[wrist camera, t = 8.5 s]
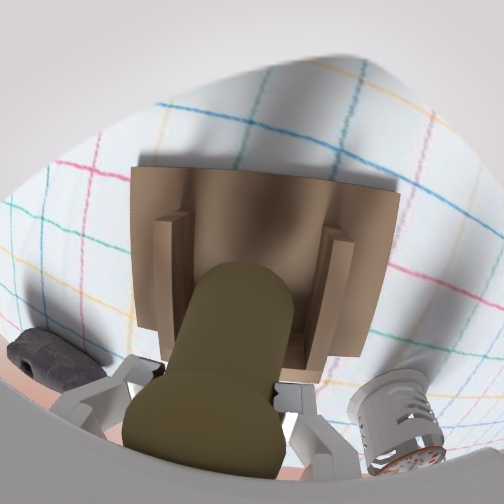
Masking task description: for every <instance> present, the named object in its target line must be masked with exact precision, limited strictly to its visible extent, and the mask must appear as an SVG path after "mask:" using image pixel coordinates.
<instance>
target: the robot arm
mask: <svg viewBox="0 0 504 504" xmlns="http://www.w3.org/2000/svg"><path fill="white" fill-rule="evenodd" d="M165 371H166V370H165V364H163V363H161V362H157V361H154V360H150V359H147V358H143V357H139V356H135V355H132V354H130V355H128V356H127V357H126V358H125V360H124V361H123V362H122V364H121V365H120V366H119V368H118V369H117V370H116V371H115V373H114V374H113V375H112V377H110V376H107V377H104V378H102V379H99V380H97V381H94V382H91V383H89V384H86V385H83V386H80V387H78V388H75V389H72V390H69V391H66V392H64V393H63V394H62V395H61V396H60V397H59V398H58V400H57V401H56V402H55V403H54V405H53V406H52V407H51V408H50V409H49V410H47V409H45V408H44V407H42V406H41V405H39V404H37V403H36V402H34V401H33V400H31V399H29V398H28V397H27V396H25V395H24V394H22V393H21V392H19V391H18V390H16V389H15V388H13V387H12V386H11V385H10V384H8V383H7V382H5V381H4V380H3V379H1V378H0V504H504V454H503V453H502V452H500V451H498V450H497V449H494V448H492V447H485V448H482V449H479V450H476V451H474V452H471V453H468V454H466V455H463V456H460V457H457V458H454V459H451V460H447V461H444V462H441V463H437V464H434V465H430V466H426V467H422V468H418V469H413V470H409V471H404V472H398V473H393V474H387V475H381V476H373V477H365V478H362V475H361V469H360V463H359V457H358V452H357V451H356V450H355V449H354V448H353V447H352V446H351V445H350V444H349V443H348V442H347V441H346V440H345V439H344V438H343V437H342V436H341V435H340V434H339V433H338V432H337V431H336V430H335V429H334V428H333V427H332V426H331V425H330V424H329V423H328V422H327V421H326V420H325V419H324V418H323V416H322V415H317V407H316V397H315V387H314V385H313V384H297V383H283V382H275V383H274V392H273V405H272V406H273V408H274V409H275V410H276V411H277V412H278V415H279V418H280V421H281V425H282V428H283V431H284V435H285V438H286V441H289V444H290V445H291V447H292V449H293V450H294V452H295V453H296V455H297V456H298V458H299V459H300V460H301V462H302V463H303V465H304V466H305V468H306V469H305V471H304V473H303V474H302V476H301V478H300V479H299V481H294V480H293V481H292V480H274V479H261V478H251V477H243V476H236V475H229V474H223V473H217V472H212V471H207V470H202V469H197V468H193V467H188V466H184V465H180V464H176V463H173V462H169V461H166V460H162V459H159V458H155V457H152V456H149V455H146V454H143V453H140V452H137V451H134V450H132V449H129V448H126V447H124V446H121V445H118V444H116V443H113V442H111V441H109V440H107V438H106V436H105V434H104V431H106V430H108V429H109V428H111V427H113V426H114V425H116V424H118V423H119V422H121V421H123V420H124V416H125V411H126V408H127V407H128V405H129V404H130V402H131V401H132V399H133V397H134V396H135V395H136V394H137V393H138V392H139V391H140V390H142V389H143V388H144V387H145V386H146V385H147V384H148V383H149V382H151V381H152V380H153V379H154V378H157V377H160V376H163V374H164V372H165Z"/></svg>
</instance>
